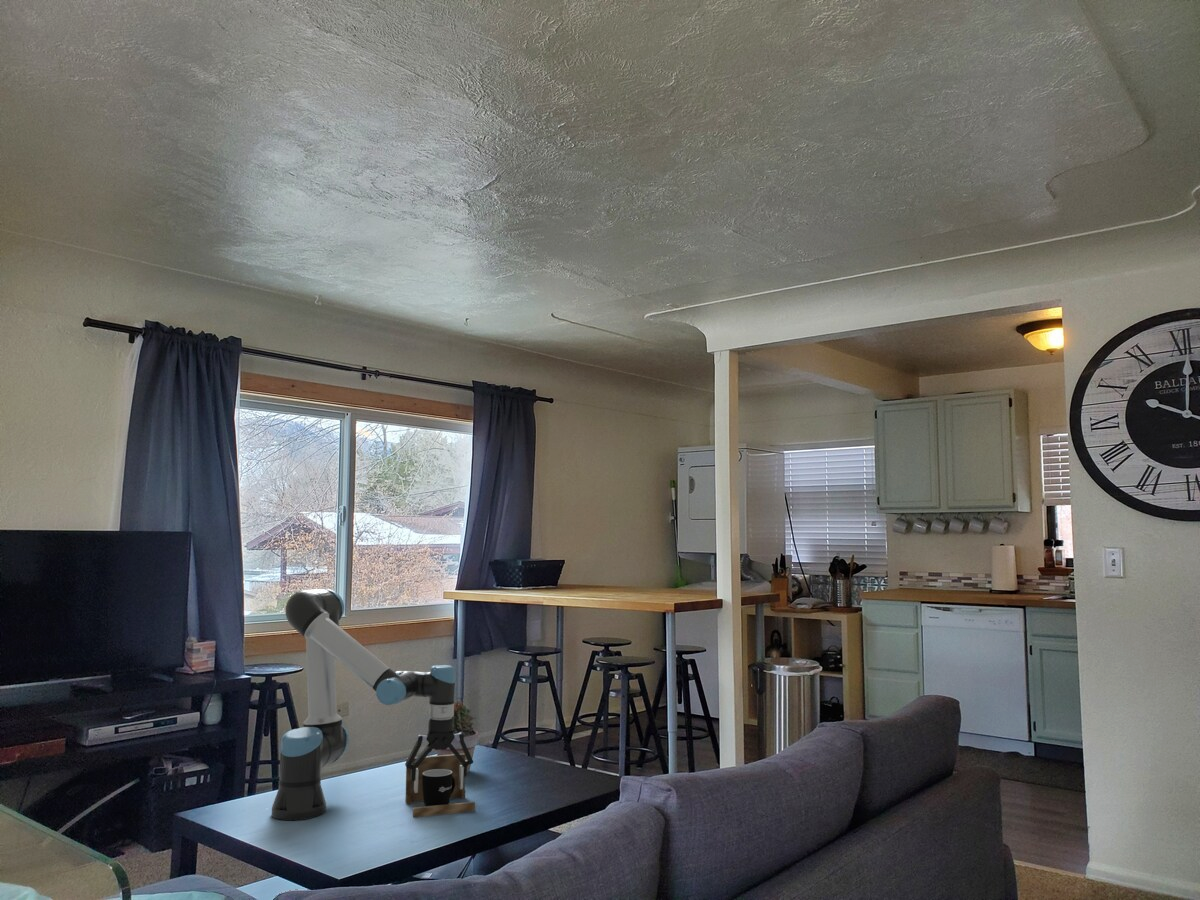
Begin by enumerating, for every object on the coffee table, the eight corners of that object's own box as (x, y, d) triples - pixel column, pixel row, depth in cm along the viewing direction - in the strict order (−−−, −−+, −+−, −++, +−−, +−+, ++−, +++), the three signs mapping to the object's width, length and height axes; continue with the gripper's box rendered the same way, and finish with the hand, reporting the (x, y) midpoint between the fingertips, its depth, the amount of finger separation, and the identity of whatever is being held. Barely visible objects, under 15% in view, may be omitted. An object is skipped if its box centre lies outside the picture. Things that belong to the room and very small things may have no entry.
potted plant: (461, 762, 318) (463, 692, 321) (490, 772, 303) (491, 699, 306) (417, 770, 306) (418, 697, 309) (445, 781, 292) (446, 704, 295)
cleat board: (413, 817, 252) (414, 770, 253) (405, 801, 268) (406, 758, 269) (474, 811, 258) (475, 765, 259) (463, 796, 274) (464, 753, 275)
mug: (437, 813, 255) (438, 777, 257) (415, 808, 260) (416, 773, 261) (464, 803, 265) (465, 769, 267) (443, 799, 270) (443, 765, 271)
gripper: (401, 722, 258) (398, 796, 256) (484, 717, 266) (481, 789, 264) (398, 717, 265) (394, 789, 263) (478, 713, 273) (476, 783, 271)
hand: (438, 790), depth 263 cm, fingers open, 13 cm apart
